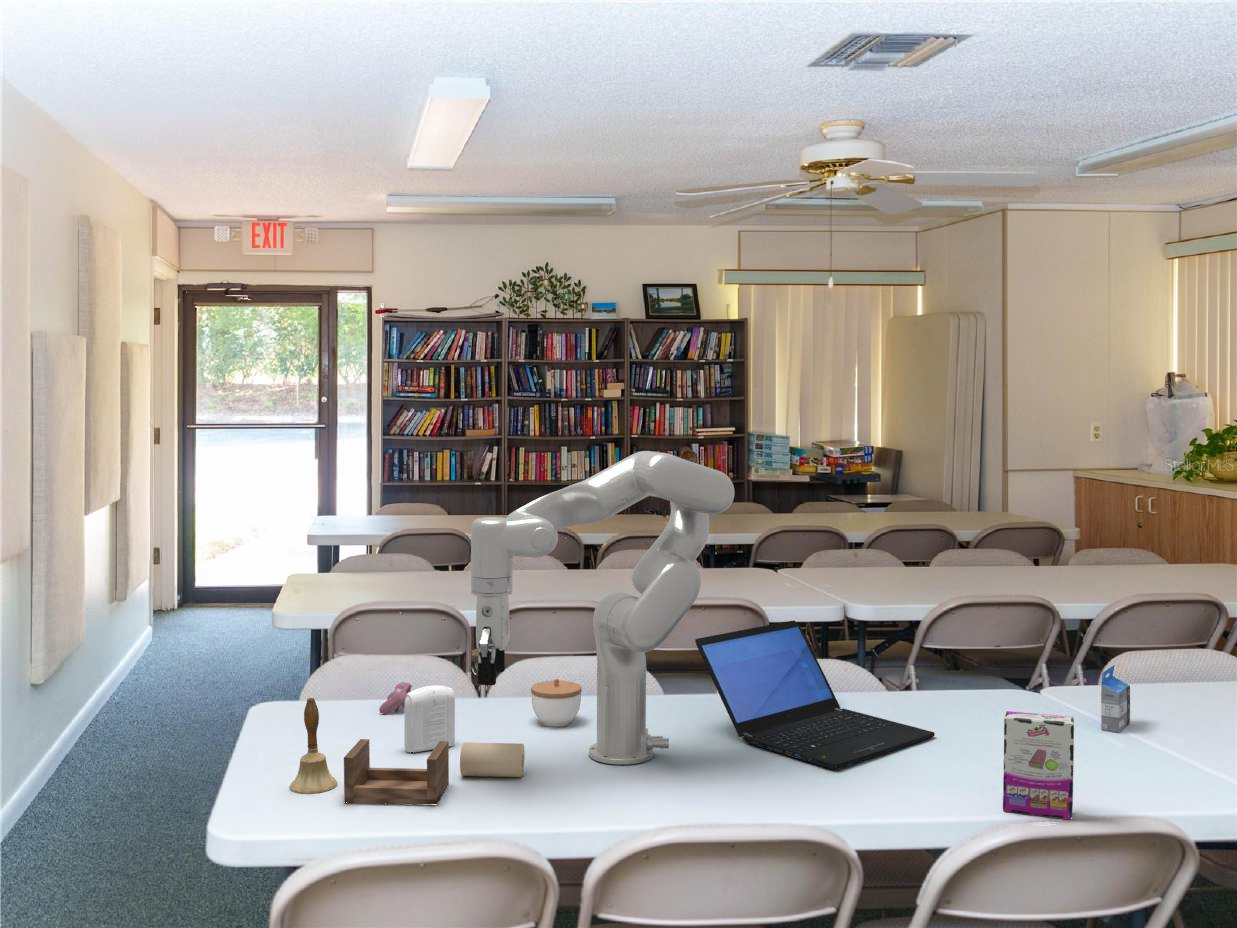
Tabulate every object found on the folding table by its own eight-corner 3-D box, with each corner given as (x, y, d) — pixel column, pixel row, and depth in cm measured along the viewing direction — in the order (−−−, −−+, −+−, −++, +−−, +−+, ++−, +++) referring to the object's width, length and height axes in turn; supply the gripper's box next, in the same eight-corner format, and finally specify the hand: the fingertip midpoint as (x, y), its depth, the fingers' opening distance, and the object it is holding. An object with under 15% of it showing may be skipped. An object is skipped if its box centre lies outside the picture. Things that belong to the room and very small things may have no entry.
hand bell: (312, 797, 205) (311, 707, 204) (279, 788, 209) (278, 700, 208) (347, 783, 212) (346, 696, 211) (314, 775, 216) (313, 689, 215)
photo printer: (449, 740, 237) (448, 680, 236) (458, 746, 233) (457, 685, 233) (401, 749, 231) (400, 687, 231) (410, 755, 228) (409, 692, 227)
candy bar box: (1072, 810, 200) (1075, 715, 198) (1072, 820, 195) (1075, 723, 194) (1003, 802, 204) (1005, 709, 202) (1001, 811, 199) (1004, 716, 198)
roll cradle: (448, 784, 211) (448, 740, 211) (436, 805, 201) (436, 759, 200) (361, 782, 212) (360, 739, 212) (344, 803, 202) (343, 757, 201)
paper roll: (525, 770, 219) (525, 739, 219) (520, 781, 213) (520, 749, 213) (465, 769, 220) (465, 738, 219) (459, 780, 214) (459, 748, 213)
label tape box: (1119, 733, 243) (1121, 675, 243) (1099, 730, 246) (1100, 672, 245) (1130, 724, 250) (1132, 667, 250) (1110, 720, 253) (1112, 664, 252)
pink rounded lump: (395, 722, 255) (409, 693, 255) (376, 712, 255) (391, 684, 255) (404, 709, 265) (418, 682, 265) (386, 700, 265) (400, 673, 265)
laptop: (835, 775, 218) (836, 672, 217) (692, 729, 246) (692, 638, 245) (937, 739, 240) (939, 646, 239) (795, 701, 268) (796, 617, 267)
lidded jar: (591, 724, 249) (591, 680, 248) (547, 733, 243) (547, 688, 242) (564, 712, 257) (564, 670, 257) (521, 720, 251) (521, 677, 251)
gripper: (504, 594, 205) (504, 690, 207) (519, 578, 223) (518, 667, 224) (462, 593, 206) (462, 689, 207) (479, 577, 223) (479, 666, 224)
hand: (491, 677), depth 215 cm, fingers open, 9 cm apart
